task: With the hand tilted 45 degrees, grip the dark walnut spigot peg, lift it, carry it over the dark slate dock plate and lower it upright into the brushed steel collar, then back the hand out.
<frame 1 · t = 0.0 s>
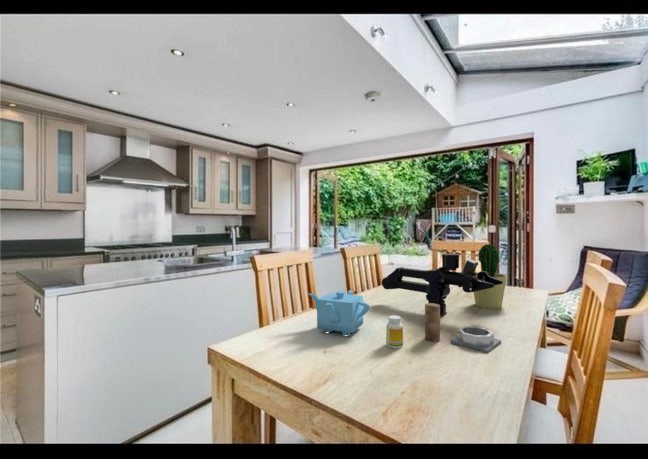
hand: (498, 284, 129), 17 cm above the table, tool horizontal, fingers open, 9 cm apart
spigot peg: (432, 339, 117), on the table
teakettle: (338, 330, 127), on the table
supplement bottle: (394, 346, 111), on the table
potted cactus: (488, 305, 160), on the table
dock: (475, 342, 113), on the table
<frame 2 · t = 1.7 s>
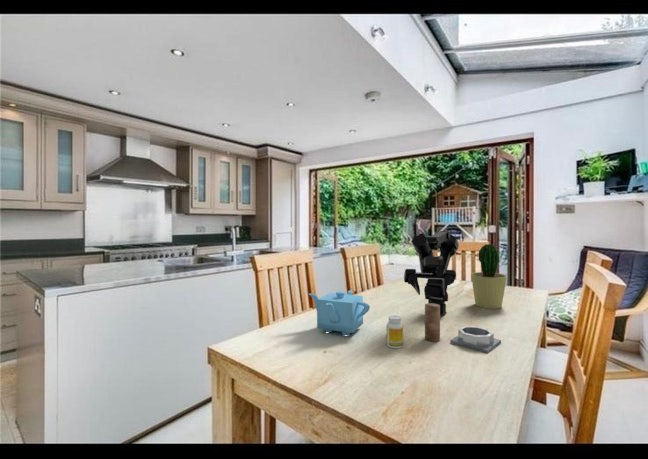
hand: (432, 294, 124), 14 cm above the table, tool tilted 45°, fingers open, 9 cm apart
nothing on the table moved.
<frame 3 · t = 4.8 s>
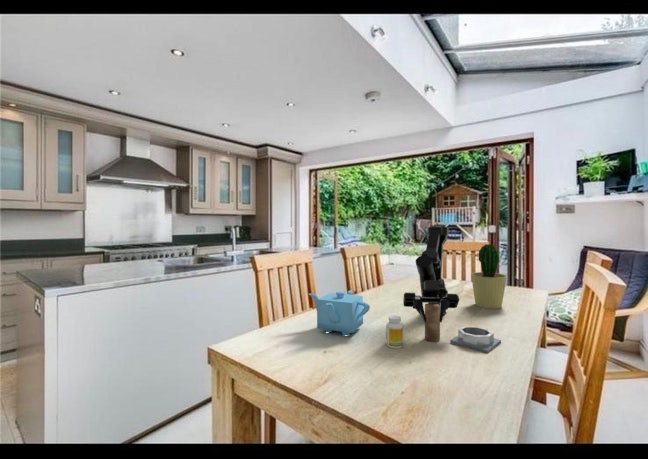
hand: (433, 321, 115), 7 cm above the table, tool tilted 45°, fingers closed on spigot peg, 5 cm apart
spigot peg: (432, 339, 117), on the table, touching gripper
everything else where it was.
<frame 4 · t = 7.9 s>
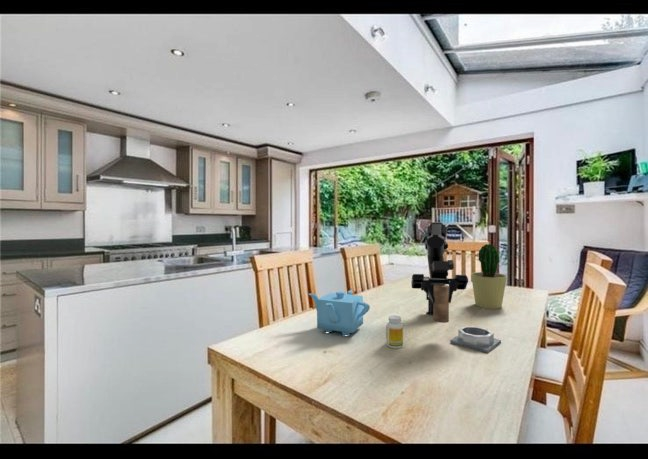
hand: (441, 302, 114), 13 cm above the table, tool tilted 45°, fingers closed on spigot peg, 5 cm apart
spigot peg: (441, 320, 116), point 7 cm above the table, touching gripper
everything else where it was.
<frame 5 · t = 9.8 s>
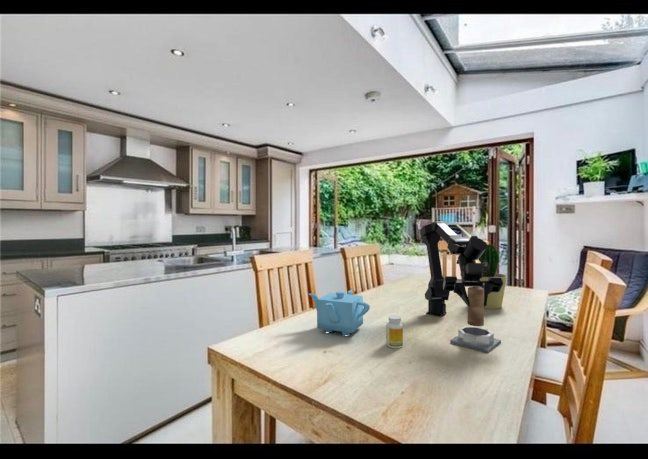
hand: (476, 305, 111), 13 cm above the table, tool tilted 45°, fingers closed on spigot peg, 5 cm apart
spigot peg: (475, 323, 113), point 6 cm above the table, touching gripper
everything else where it was.
when the fingers open (8 cm above the table, at t = 11.4 s): spigot peg stays where it is, resting on dock.
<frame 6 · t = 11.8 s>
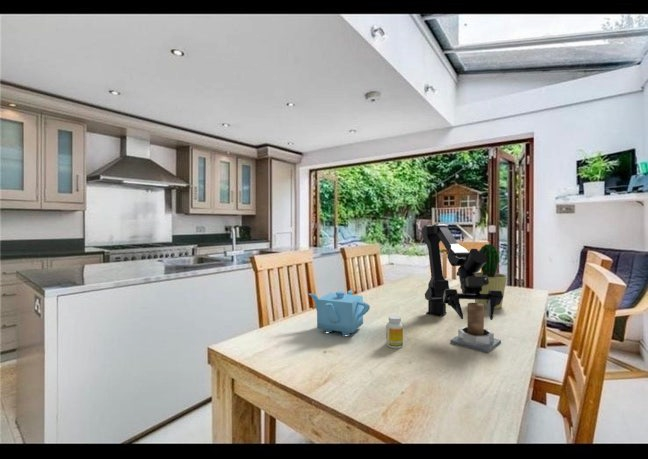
hand: (477, 319, 111), 9 cm above the table, tool tilted 45°, fingers open, 9 cm apart
spigot peg: (475, 339, 113), point 1 cm above the table, touching dock
everything else where it was.
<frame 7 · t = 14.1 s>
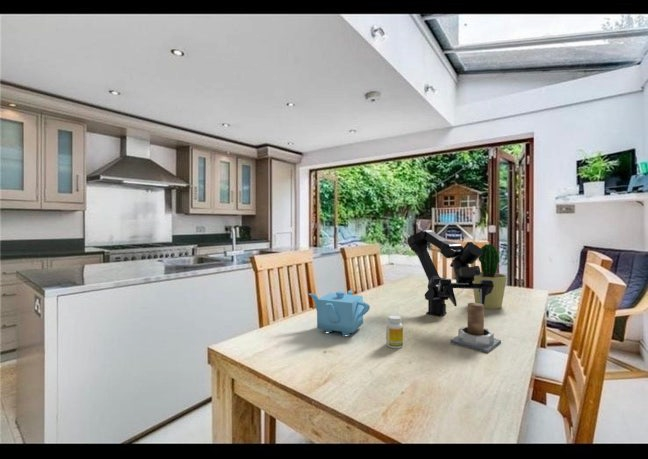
hand: (469, 306, 120), 10 cm above the table, tool tilted 45°, fingers open, 9 cm apart
nothing on the table moved.
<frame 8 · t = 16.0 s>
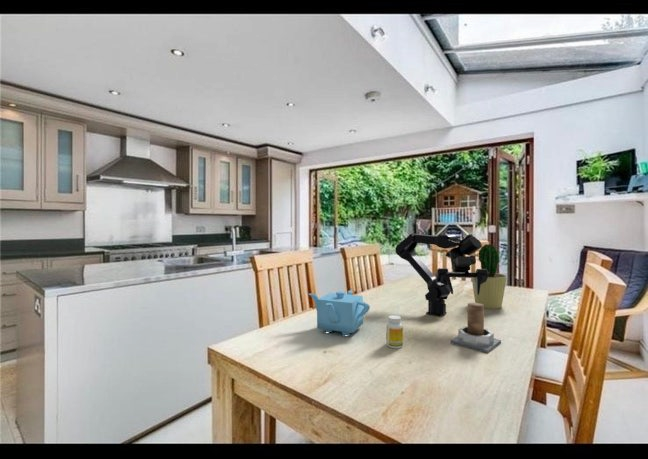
hand: (465, 293, 126), 14 cm above the table, tool tilted 45°, fingers open, 9 cm apart
nothing on the table moved.
at the end: spigot peg 0.1 cm from the dock (horizontally); spigot peg tilted 0°; the gripper is holding nothing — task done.
